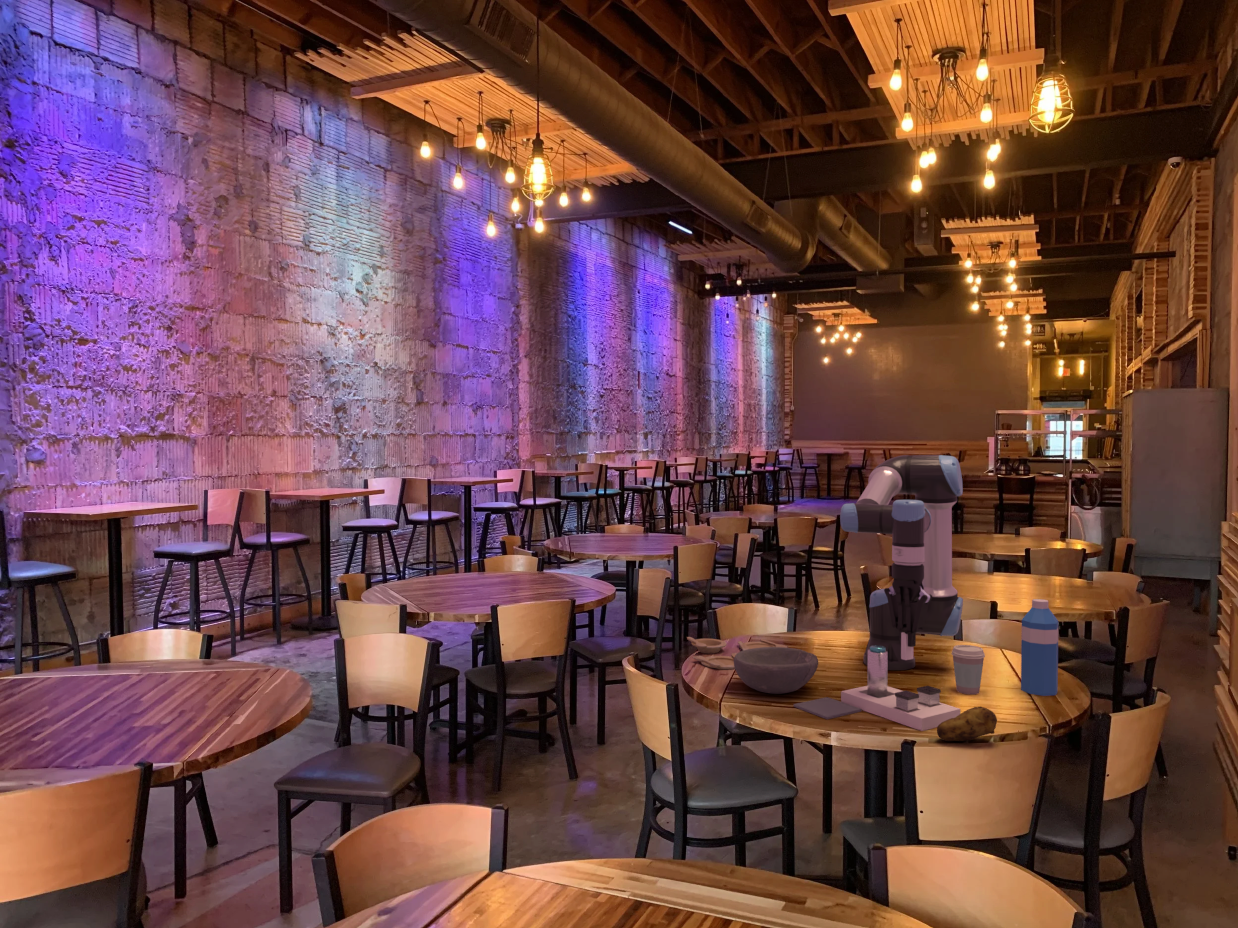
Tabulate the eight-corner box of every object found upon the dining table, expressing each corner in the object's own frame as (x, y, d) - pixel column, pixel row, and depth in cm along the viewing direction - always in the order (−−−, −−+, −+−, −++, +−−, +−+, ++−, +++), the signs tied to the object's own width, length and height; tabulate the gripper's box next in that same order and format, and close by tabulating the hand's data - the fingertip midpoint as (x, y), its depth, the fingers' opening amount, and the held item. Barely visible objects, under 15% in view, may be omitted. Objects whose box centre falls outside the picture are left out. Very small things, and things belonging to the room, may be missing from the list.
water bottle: (1062, 696, 231) (1063, 604, 230) (1025, 694, 233) (1026, 602, 232) (1052, 686, 240) (1053, 597, 239) (1016, 685, 242) (1017, 596, 241)
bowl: (765, 673, 254) (766, 640, 254) (832, 689, 238) (833, 653, 238) (716, 689, 238) (716, 654, 238) (784, 707, 222) (784, 669, 222)
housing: (841, 702, 227) (841, 691, 226) (878, 694, 234) (878, 683, 234) (921, 730, 204) (922, 718, 204) (960, 720, 212) (960, 708, 211)
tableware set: (704, 672, 257) (704, 659, 257) (675, 649, 286) (675, 637, 286) (812, 665, 266) (812, 652, 265) (773, 643, 294) (773, 631, 294)
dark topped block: (916, 701, 217) (916, 687, 216) (927, 698, 219) (927, 685, 219) (929, 705, 213) (930, 691, 213) (940, 702, 215) (940, 689, 215)
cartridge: (863, 703, 226) (863, 646, 225) (876, 700, 228) (876, 644, 228) (878, 708, 222) (878, 650, 221) (891, 705, 224) (891, 647, 224)
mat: (793, 706, 223) (793, 704, 223) (827, 699, 229) (827, 696, 229) (827, 719, 213) (827, 716, 213) (861, 711, 219) (861, 708, 219)
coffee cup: (983, 688, 239) (983, 645, 239) (985, 697, 231) (986, 652, 231) (950, 685, 242) (950, 643, 241) (951, 694, 234) (952, 650, 233)
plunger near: (894, 706, 212) (895, 692, 212) (905, 703, 214) (906, 690, 214) (907, 710, 209) (908, 696, 209) (919, 708, 211) (919, 694, 211)
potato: (936, 732, 203) (936, 698, 203) (995, 738, 199) (995, 704, 199) (936, 744, 196) (937, 709, 195) (998, 750, 191) (998, 715, 191)
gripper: (876, 560, 214) (875, 655, 215) (919, 567, 203) (918, 666, 204) (897, 558, 218) (896, 651, 219) (940, 565, 207) (939, 662, 208)
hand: (907, 658), depth 211 cm, fingers closed
